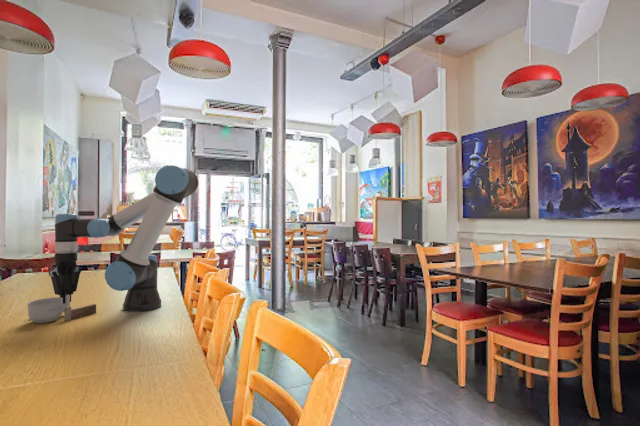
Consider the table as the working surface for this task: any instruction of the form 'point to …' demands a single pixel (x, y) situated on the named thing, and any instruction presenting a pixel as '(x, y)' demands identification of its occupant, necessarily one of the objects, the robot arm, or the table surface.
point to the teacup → (45, 309)
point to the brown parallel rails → (78, 312)
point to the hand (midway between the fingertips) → (65, 311)
